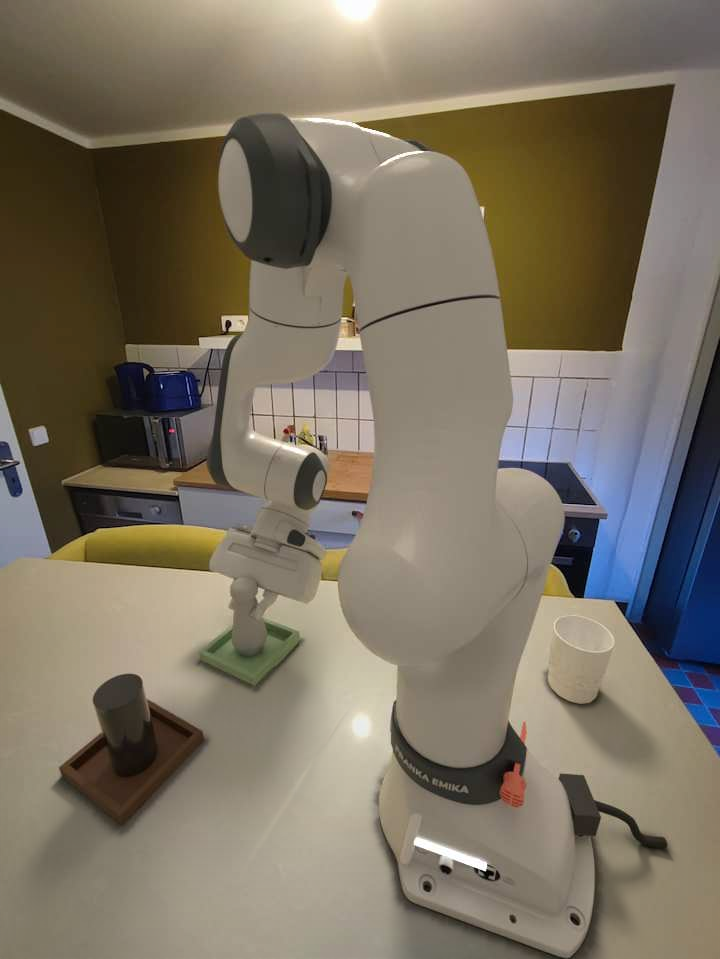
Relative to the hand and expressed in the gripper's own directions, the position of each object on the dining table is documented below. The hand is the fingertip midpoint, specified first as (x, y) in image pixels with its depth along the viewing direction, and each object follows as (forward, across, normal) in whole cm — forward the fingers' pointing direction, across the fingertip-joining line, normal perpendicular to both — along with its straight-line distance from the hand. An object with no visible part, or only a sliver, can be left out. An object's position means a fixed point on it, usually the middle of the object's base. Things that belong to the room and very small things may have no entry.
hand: (244, 614), depth 69 cm
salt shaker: (+5, 0, +6) cm, 8 cm away
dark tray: (+20, 0, -9) cm, 22 cm away
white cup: (-7, +48, +18) cm, 52 cm away
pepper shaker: (+20, 0, -10) cm, 22 cm away
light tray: (+5, 0, +6) cm, 8 cm away
